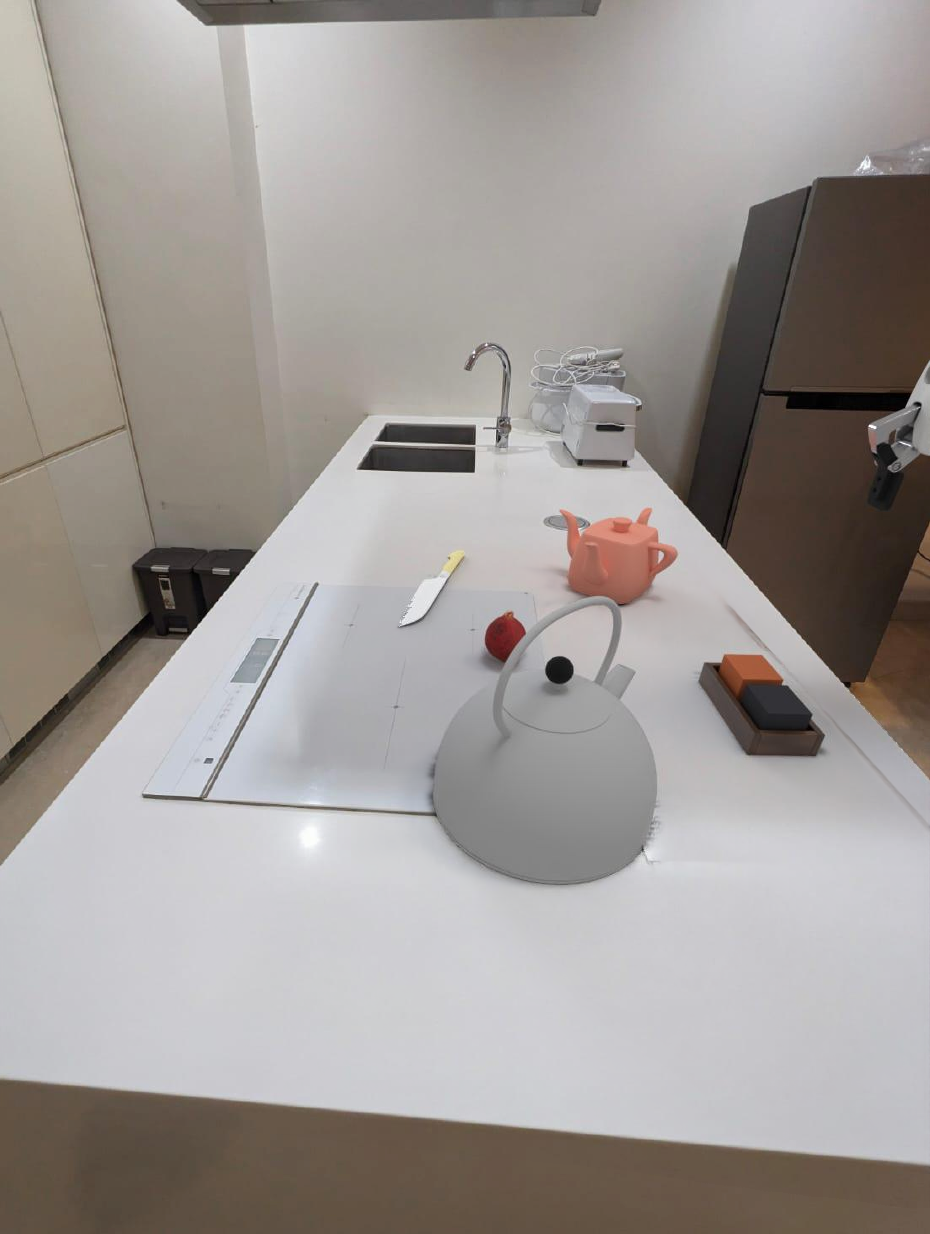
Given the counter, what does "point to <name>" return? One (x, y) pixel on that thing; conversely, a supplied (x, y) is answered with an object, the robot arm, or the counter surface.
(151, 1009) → the counter surface
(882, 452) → the robot arm
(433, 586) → the knife
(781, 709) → the pad charcoal
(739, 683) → the orange block
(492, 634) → the red pomegranate
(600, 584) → the pot
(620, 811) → the kettle
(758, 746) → the brown wooden tray
